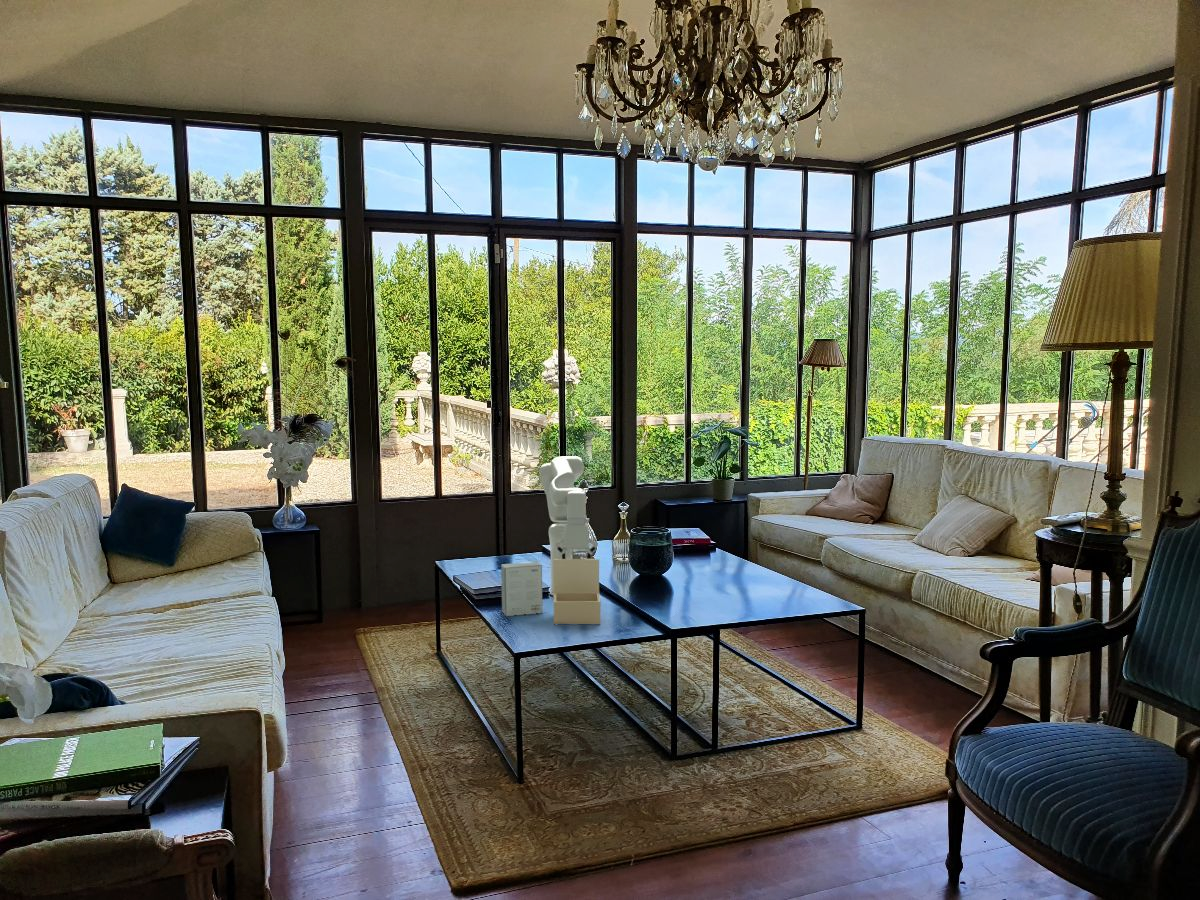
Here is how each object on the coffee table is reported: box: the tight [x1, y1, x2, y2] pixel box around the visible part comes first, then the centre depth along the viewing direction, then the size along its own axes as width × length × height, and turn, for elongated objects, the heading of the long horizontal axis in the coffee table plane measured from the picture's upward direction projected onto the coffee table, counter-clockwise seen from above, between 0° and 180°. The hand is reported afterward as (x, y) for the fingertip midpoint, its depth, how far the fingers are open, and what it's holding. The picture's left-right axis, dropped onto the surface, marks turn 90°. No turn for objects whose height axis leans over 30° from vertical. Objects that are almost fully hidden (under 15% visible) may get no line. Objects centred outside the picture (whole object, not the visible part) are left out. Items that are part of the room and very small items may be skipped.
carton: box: [553, 592, 602, 625], centre depth 333 cm, size 14×18×9 cm
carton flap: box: [554, 553, 600, 594], centre depth 341 cm, size 14×18×8 cm
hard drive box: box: [500, 561, 544, 617], centre depth 342 cm, size 16×8×20 cm, turn 108°
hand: (576, 563), depth 344 cm, fingers open, 9 cm apart
